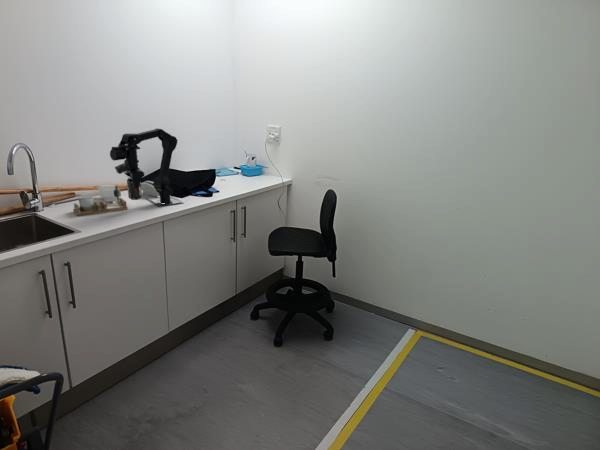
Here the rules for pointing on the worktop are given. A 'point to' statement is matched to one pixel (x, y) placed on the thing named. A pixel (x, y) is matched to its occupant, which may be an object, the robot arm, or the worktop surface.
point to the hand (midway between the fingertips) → (134, 187)
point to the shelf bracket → (110, 193)
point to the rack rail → (97, 206)
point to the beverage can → (133, 190)
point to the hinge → (149, 188)
